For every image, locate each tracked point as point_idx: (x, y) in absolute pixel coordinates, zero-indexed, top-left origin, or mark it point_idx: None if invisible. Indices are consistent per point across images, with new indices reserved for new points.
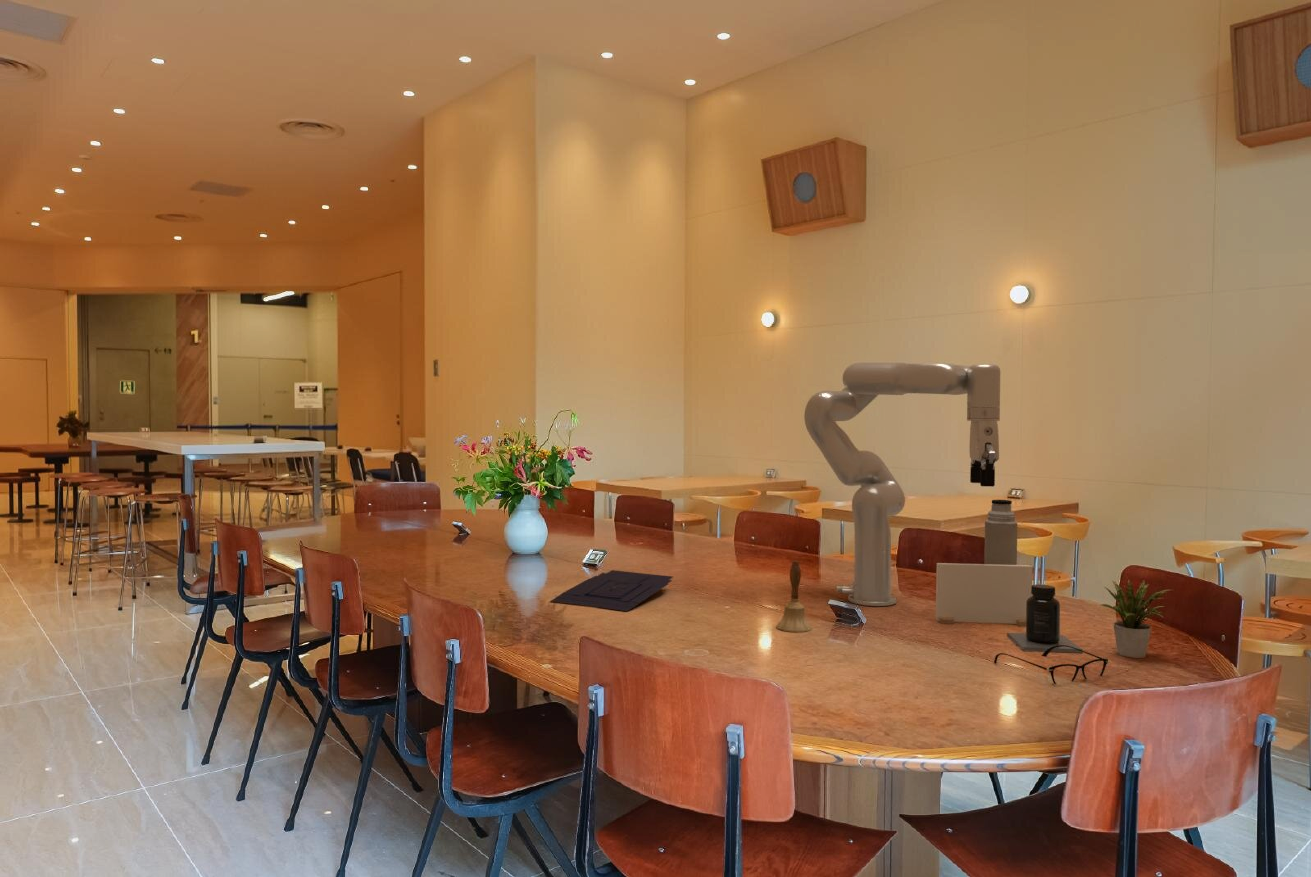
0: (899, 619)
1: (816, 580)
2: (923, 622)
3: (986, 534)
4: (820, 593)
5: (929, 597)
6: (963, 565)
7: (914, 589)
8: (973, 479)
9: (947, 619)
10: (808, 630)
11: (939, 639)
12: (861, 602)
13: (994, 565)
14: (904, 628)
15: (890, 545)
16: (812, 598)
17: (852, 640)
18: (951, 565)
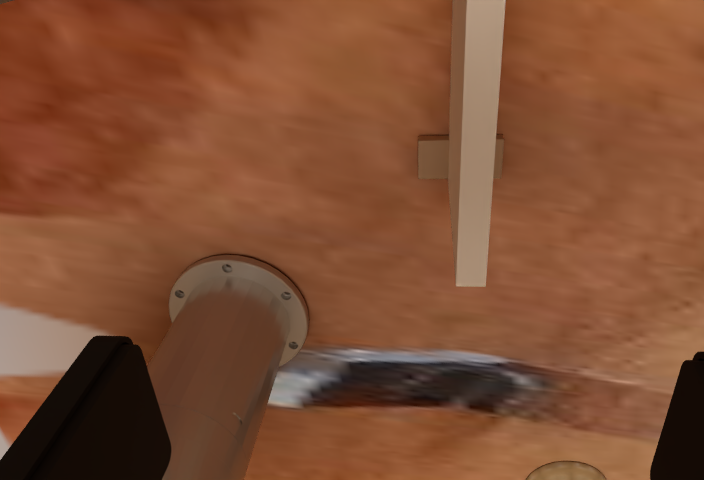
0: None
1: (14, 402)
2: None
3: (5, 2)
4: None
5: (113, 141)
6: (492, 186)
7: (2, 168)
8: (151, 469)
9: (502, 159)
10: (596, 469)
11: (700, 212)
12: (300, 348)
13: (499, 35)
14: (565, 280)
15: (191, 408)
16: None
17: None
18: (488, 234)
